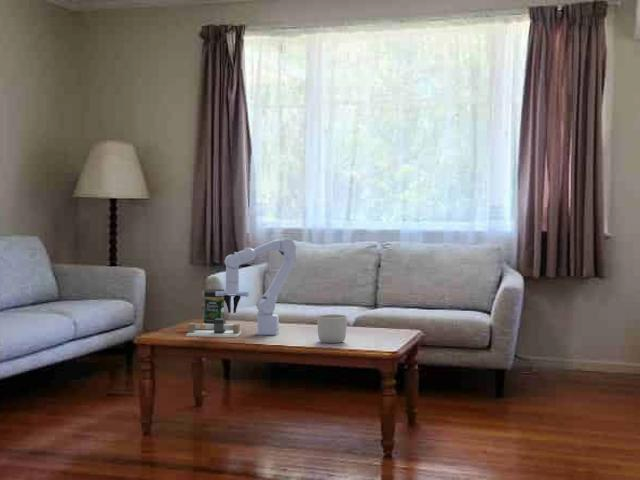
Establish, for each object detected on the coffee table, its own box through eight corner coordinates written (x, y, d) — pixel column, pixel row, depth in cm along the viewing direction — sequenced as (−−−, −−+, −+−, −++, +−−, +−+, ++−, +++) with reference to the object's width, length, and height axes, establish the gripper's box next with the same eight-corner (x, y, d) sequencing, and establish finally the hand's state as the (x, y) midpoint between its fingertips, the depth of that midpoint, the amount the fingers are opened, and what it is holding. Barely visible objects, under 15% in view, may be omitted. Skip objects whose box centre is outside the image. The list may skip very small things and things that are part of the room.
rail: (241, 333, 358) (241, 322, 357) (236, 337, 346) (236, 326, 345) (192, 332, 359) (192, 321, 359) (186, 336, 347) (186, 325, 347)
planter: (316, 339, 341) (316, 314, 341) (344, 339, 342) (345, 314, 341) (318, 344, 329) (318, 318, 328) (348, 344, 329) (348, 318, 329)
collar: (225, 331, 355) (225, 318, 355) (222, 332, 349) (222, 319, 349) (216, 330, 355) (216, 318, 355) (213, 332, 350) (213, 319, 349)
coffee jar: (201, 329, 369) (201, 289, 369) (208, 326, 377) (208, 287, 376) (220, 330, 367) (220, 289, 366) (227, 327, 374) (227, 288, 374)
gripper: (250, 281, 354) (249, 311, 355) (217, 280, 356) (217, 311, 356) (247, 282, 347) (247, 313, 348) (214, 282, 349) (214, 313, 349)
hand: (232, 312), depth 351 cm, fingers closed
